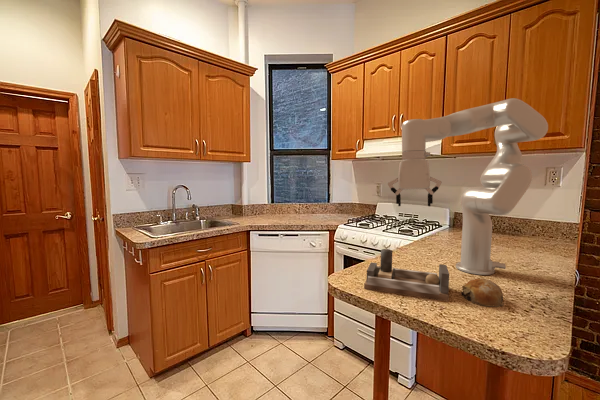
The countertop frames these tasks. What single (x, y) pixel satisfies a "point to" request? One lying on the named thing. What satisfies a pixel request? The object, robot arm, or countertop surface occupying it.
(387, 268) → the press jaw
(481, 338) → the countertop surface
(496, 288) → the bread roll
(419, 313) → the countertop surface
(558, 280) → the countertop surface
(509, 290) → the countertop surface
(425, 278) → the base
